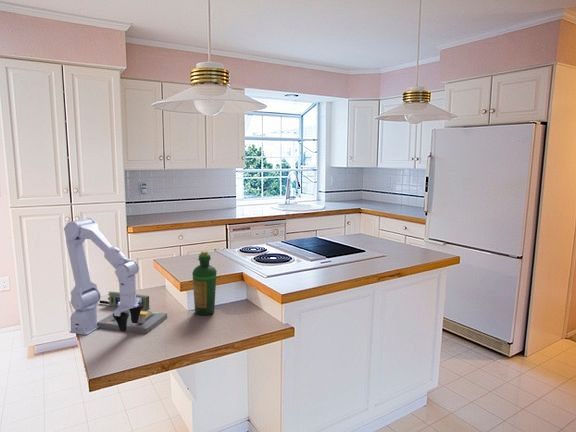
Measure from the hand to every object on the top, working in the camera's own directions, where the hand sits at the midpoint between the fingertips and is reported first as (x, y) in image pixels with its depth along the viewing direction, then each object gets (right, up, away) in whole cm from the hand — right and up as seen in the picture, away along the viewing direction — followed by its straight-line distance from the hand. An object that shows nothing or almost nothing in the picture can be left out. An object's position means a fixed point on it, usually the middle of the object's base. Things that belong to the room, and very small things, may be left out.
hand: (129, 326), depth 153 cm
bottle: (+24, -1, +26) cm, 35 cm away
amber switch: (+2, 0, +8) cm, 8 cm away
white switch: (-8, +1, +18) cm, 20 cm away
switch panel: (-3, -2, +13) cm, 14 cm away
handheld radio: (-14, 0, +30) cm, 33 cm away
